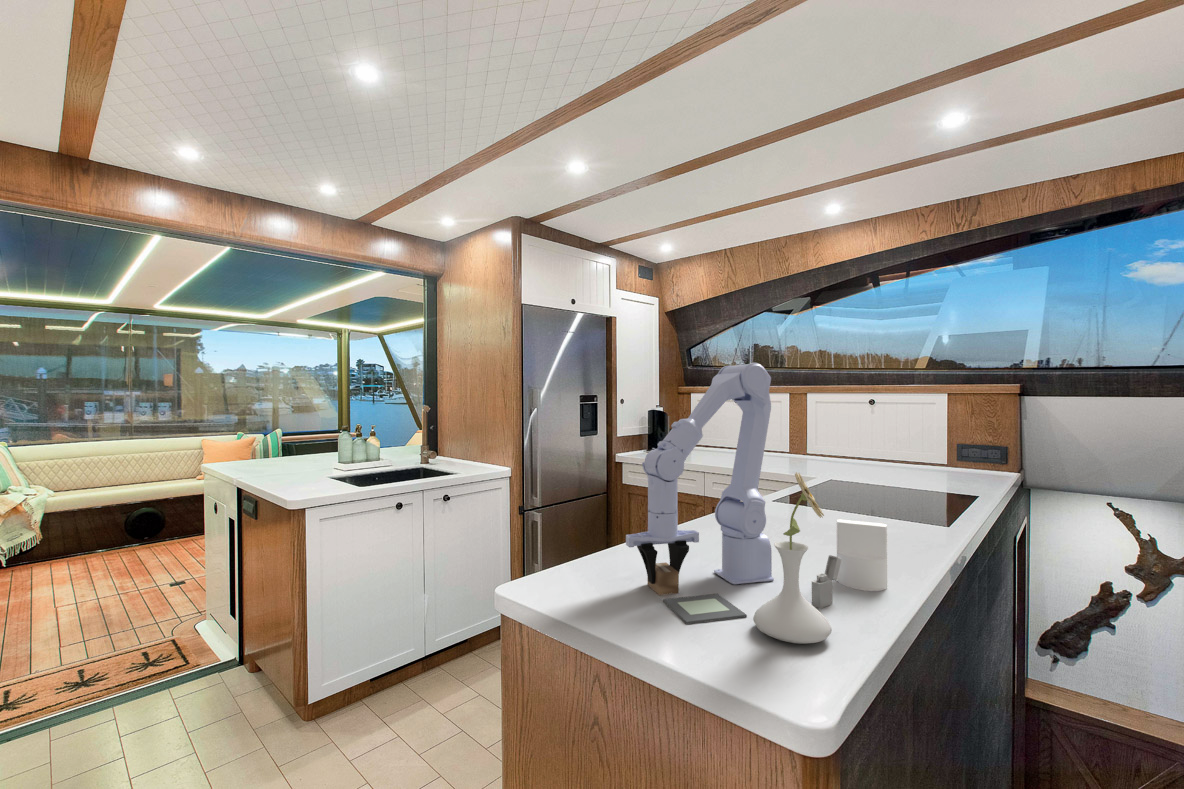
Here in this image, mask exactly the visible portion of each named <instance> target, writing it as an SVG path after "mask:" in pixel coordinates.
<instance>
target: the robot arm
mask: <svg viewBox="0 0 1184 789" xmlns="http://www.w3.org/2000/svg"><path fill="white" fill-rule="evenodd" d="M771 381H772V377H771V375H770V374H769V373H768V371H767V370H766V368H765V367H764V366H763V365H762V364H760V363H758V362H751V363H747V364H737V365H736V364H735V365H724V366H723V367H721V369H719V371H718V373H717V374H716V375H715V376H713V377H712V380H711V384H710V386H709V387H708V389H707V390H706V392H704V394H703V396H702V398H700V400H699V402H698V403H697V404H696V405H695V407H694V409H693V410H692V412H691V413H690V414H689V416H688V417H687V418H681V419H679V420H678V421H674V422H673V423H671V425H670V426H671V430H670V431H669V432H668V433H667V434H666V435H665V436H664V438H663V440H660V441H658V443H657V448H654V449H651V450H650V451H649V452H648V453H647V454H646V455H645V458H644V462H642V463H641V464H642V465H641V466H642V469H643V472H644V473H645V474H646V476H647V531H643V532H638V533H632V534H625V545H626V546H627V547H628V548H634V547H637V550H638V551H639V553H640V556H641V559H642V561H643V564H644V567H645V571H646V576H647V582H648V581H649V582H650V583H651V584H655V580H656V571H655V567H656V563H657V557H658V551H657V550H656V549H655V546H654V545H663V544H664V545H667V546H668V555H669V565H670V566H671V567H673V568H674V569H675V570H677V571H678V572H679V573H680V571H681V569H682V566H683V563H684V561H685V558H686V557H687V556H688V553H689V552H690V545H689V544H688V543H700V532H698V531H697V530H694V529H693V530H692V529H691V530H686V529H685V530H681V529H679V527H678V523H679V522H678V516H679V514H678V510H679V509H678V505H679V504H678V499H679V498H678V497H679V496H678V484H679V483H678V478H679V477H680V476H682V475H683V473H684V469H685V462H686V461H687V458H688V457H689V455H690V454H691V453H692V452H693V450H694V449H695V448H696V446H697V445H698V444H699V443H700V441H701V440H702V438H703V436H704V435H703V428H704V427H705V426H706V424H707V423H708V422H709V421H710V420H711V418H712V417H714V415H715V414H716V413H717V412H718V411H719V410H720V408H721V407H722V406H723V405H725V403H726V402H727V401H730V400H732V401H733V402H735V403H736V404H737V406H738V408H739V409H740V410H741V411H742V416H741V421H740V427H739V434H738V439H737V445H736V450H735V455H734V463H733V468H732V474H731V481H730V484H729V485H728V486H727V487H726V488H725V489H724V490H723V491H722V492H721V496H720V499H719V501H718V503H717V504H716V506H715V509H714V516H715V521H716V522H717V523H718V525H719V526H720V531H721V568H720V569H719V568H717V569H714V570H713V571H714V573H715V574H716V575H717V576H719V577H721V578H723V580H725V581H727V582H729V583H730V584H731V585H739V584H741V585H742V584H750V583H751V584H752V583H760V582H770V581H774V580H775V577H773V576H772V564H773V563H772V558H773V557H772V556H773V555H772V553H773V552H772V544H771V541H770V538H769V537H768V536H767V535H766V534H765V533H764V532H763V531H764V529H766V528H765V527H766V525H767V514H766V509H765V507H766V500H765V499H764V497H763V496H762V494H761V493H760V492H759V490H758V489H759V484H760V477H761V471H762V466H763V458H764V453H765V448H766V441H767V435H768V429H769V424H770V418H771V410H772V403H771V396H770V389H771V388H770V387H771ZM678 529H679V530H678Z"/></svg>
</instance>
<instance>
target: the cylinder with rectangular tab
mask: <svg viewBox="0 0 1184 789" xmlns="http://www.w3.org/2000/svg"><path fill="white" fill-rule="evenodd" d="M836 557H838V558H840V559H841V564H840V568H839V572H838V577H837V581H836V582H838V583H839V584H840V585H843V586H845V587H847V588H851V589H855V590H861V591H867V592H879V591H885V590H886V589H888V525H887V524H886V523H884V522H883V523H880V522H870V521H862V520H849V519H840V518H837V520H836Z"/></svg>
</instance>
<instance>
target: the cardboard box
mask: <svg viewBox="0 0 1184 789" xmlns="http://www.w3.org/2000/svg"><path fill="white" fill-rule="evenodd" d="M655 571H656V580H655V584H651V583H650V582H649V581H648V580H647V585H648V586H649V587H650V589H652V590H653V591H654V592H655V593H656V594H657V595H658V596H665V595H673V594H674V595H675V594H679V593H680V592H679V591H680V590H679V589H680V586H679V585H680V582H679V580H680V579H679V576H680V572H678V571H677V570H675V569H674V568H673V567H671V566H670V563H667V562H656V567H655Z"/></svg>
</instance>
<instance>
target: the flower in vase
mask: <svg viewBox="0 0 1184 789" xmlns="http://www.w3.org/2000/svg"><path fill="white" fill-rule="evenodd" d="M794 477H795V480H796V482H797V484H798V486H799V488H800V490H801V494H800V497H799V499H798V501H797V503H796V504H795V506H794V509H793V511H792V513H791V517H790V520H789V522H790V523H789V529H788V530H787V531H785V532H784V533H783V535H784V536H787V537H789V541H787V540H786V541H783V540H782V541H777V542H774V544H773V545H774V547H775V549H776V550H777V553H778V554H779V556H780V559H781V564H782V569H783V570H782V572H783V585H782V590H781V591H780V592H779V594H778V595H777V596H775V597H774V598H772V599H770V600H769V601H767V602H766V603H764V604H762V605H761V606H760V607H758V609H756V611H755V612H754V615H753V619H752V620H753V622H754V625H755V626H756V628H757V629H758V630H759V631H760V632H761V633H763V634H765V635H766V636H769V637H770V638H771V637H772V638H774V639H777V640H778V641H782V642H787V643H791V644H801V645H802V644H805V645H806V644H815V643H819V642H823V641H825V640H826V639H827V638H828V637H829V636H830V635H831V633H832V627H831V624H830V622H829V620H828V619H827V618H826V616H824V615H823V613H822V612H820V611H819V610H818V609H817V607H814V606H812V603H810V602H809V601H808V600H807V599H806V598H805V597H804V596H803V594H802V592H801V589H800V588H801V587H800V581H799V580H800V568H801V564H802V560H803V557H804V555H805V553H807V551H808V550H809V546H808V545H806V544H804V543H801V542H795V541H793V536H794V535H796V534H799V533H800V532H801V529H800V527H799V525H798V523H797V520H796V519H795V518H794V517H795V514H796V511H797V509H798V507H799V505H800V503H801V502H802V501H804V502H805V501H806V502H808V505H810V507H811V509H812V510H813V512H814V513H815V514H816V516H818V517H819V519H821V518H823V517H825V515H824V512H823V511H822V508H821V507H820V506H819V504H818V503H817V502H816V499H815V497H814V496H813V494H812V492H811V490H810V489H809V487H808V485H807V483H806V481H804V479H803V476H802V475H801V473H800V472H797V471H796V472H795V473H794Z"/></svg>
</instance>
